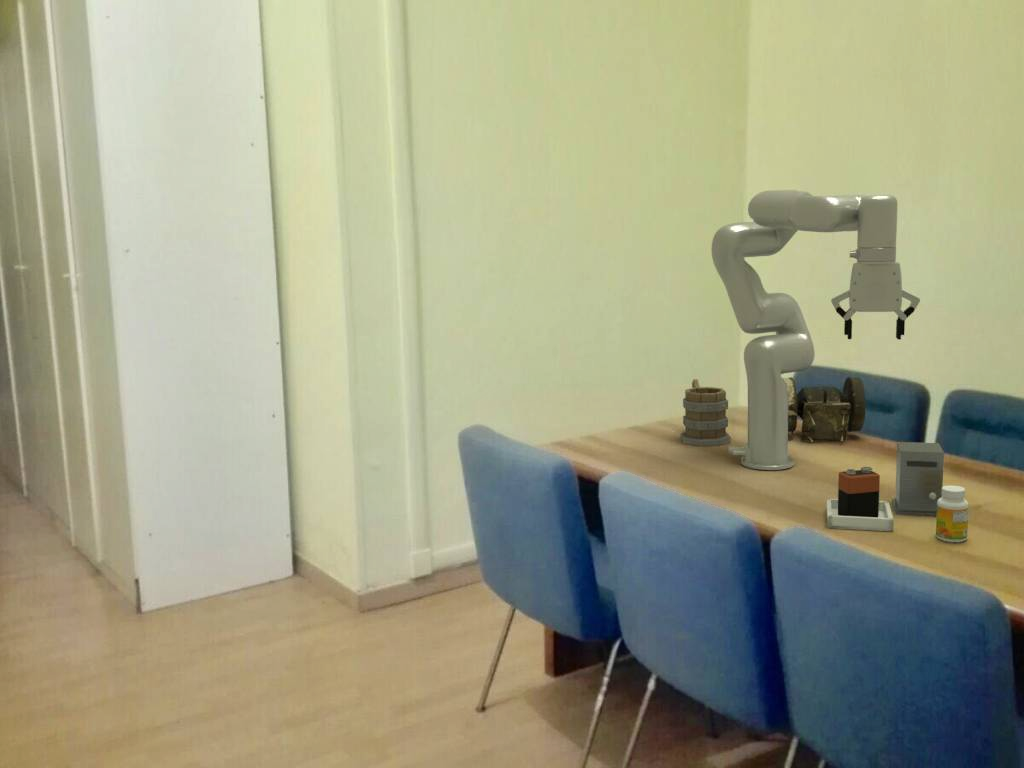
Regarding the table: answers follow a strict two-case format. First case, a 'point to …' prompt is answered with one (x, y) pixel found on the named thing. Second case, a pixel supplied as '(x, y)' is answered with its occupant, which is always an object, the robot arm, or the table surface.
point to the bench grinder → (826, 410)
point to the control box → (918, 478)
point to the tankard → (705, 416)
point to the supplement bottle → (952, 515)
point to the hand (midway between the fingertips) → (873, 338)
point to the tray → (860, 518)
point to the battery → (858, 493)
